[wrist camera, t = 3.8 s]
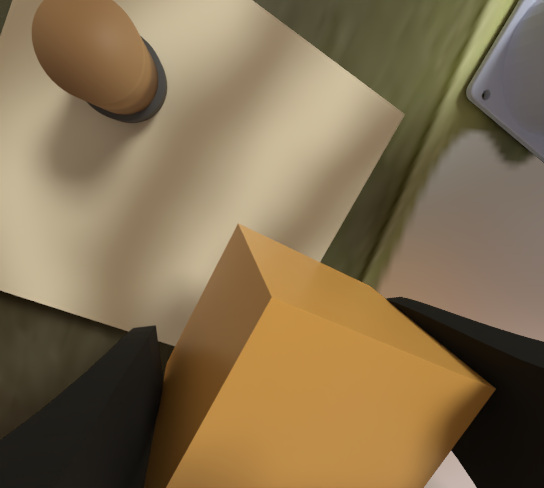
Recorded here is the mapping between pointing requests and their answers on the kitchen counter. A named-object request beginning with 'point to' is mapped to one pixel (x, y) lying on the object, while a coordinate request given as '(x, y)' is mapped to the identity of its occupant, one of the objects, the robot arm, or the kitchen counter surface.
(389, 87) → the kitchen counter surface
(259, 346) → the tilted amber cube
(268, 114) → the board
